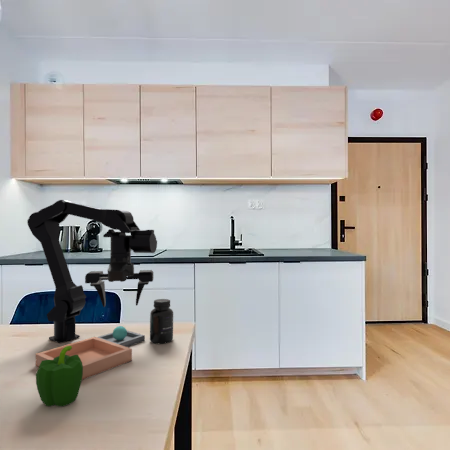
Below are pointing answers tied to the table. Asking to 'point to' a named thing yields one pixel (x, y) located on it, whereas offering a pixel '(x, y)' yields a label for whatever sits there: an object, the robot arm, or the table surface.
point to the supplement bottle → (161, 322)
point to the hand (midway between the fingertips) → (120, 305)
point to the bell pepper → (59, 379)
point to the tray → (128, 340)
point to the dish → (92, 355)
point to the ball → (119, 333)
